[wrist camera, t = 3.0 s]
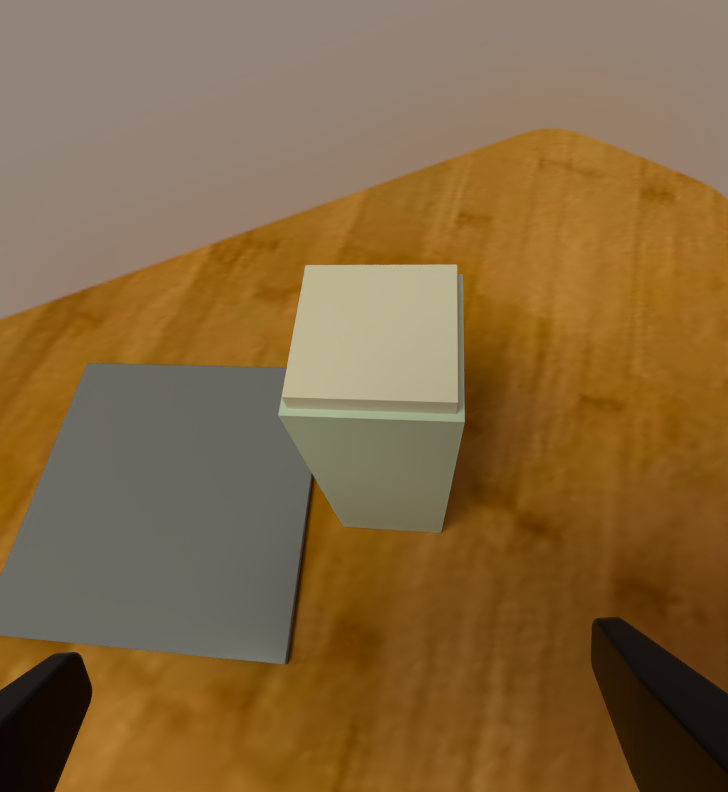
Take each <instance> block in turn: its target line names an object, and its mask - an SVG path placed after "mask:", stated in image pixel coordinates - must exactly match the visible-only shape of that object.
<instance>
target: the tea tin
mask: <svg viewBox="0 0 728 792" xmlns="http://www.w3.org/2000/svg"><path fill="white" fill-rule="evenodd" d="M278 416H279V418H280V419H281V421H282V423H283V425H284V426H285V428H286V430H287V431H288V433H289V435H290V437H291V438H292V440H293V442H294V443H295V445H296V447H297V449H298V450H299V452H300V454H301V455H302V457H303V459H304V461H305V462H306V464H307V466H308V467H309V469H310V471H311V473H312V474H313V476H314V478H315V479H316V481H317V483H318V484H319V486H320V488H321V490H322V491H323V493H324V495H325V496H326V498H327V500H328V502H329V503H330V505H331V507H332V508H333V510H334V512H335V514H336V515H337V517H338V519H339V520H340V522H341V524H342V526H343V527H354V528H370V529H385V530H401V531H417V532H432V533H441V531H442V527H443V522H444V517H445V513H446V508H447V503H448V499H449V494H450V489H451V484H452V480H453V475H454V470H455V466H456V461H457V456H458V452H459V447H460V442H461V437H462V433H463V428H464V423H465V404H464V334H463V275H457V265H306V266H305V272H304V277H303V282H302V288H301V293H300V299H299V304H298V310H297V315H296V321H295V326H294V331H293V337H292V342H291V348H290V353H289V359H288V364H287V370H286V375H285V381H284V386H283V391H282V398H281V403H280V408H279V414H278Z"/></svg>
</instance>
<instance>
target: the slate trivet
mask: <svg viewBox="0 0 728 792" xmlns="http://www.w3.org/2000/svg"><path fill="white" fill-rule="evenodd" d="M286 370H287V368H266V367H223V366H180V365H137V364H94V363H87V365H86V368H85V370H84V373H83V375H82V377H81V380H80V382H79V385H78V387H77V390H76V392H75V395H74V397H73V400H72V402H71V404H70V407H69V409H68V412H67V414H66V417H65V419H64V422H63V424H62V426H61V429H60V431H59V434H58V436H57V439H56V441H55V444H54V446H53V448H52V451H51V453H50V456H49V458H48V461H47V463H46V466H45V468H44V471H43V473H42V475H41V478H40V480H39V483H38V485H37V488H36V490H35V493H34V495H33V497H32V500H31V502H30V505H29V507H28V510H27V512H26V515H25V517H24V519H23V522H22V524H21V527H20V529H19V532H18V534H17V537H16V539H15V542H14V544H13V546H12V549H11V551H10V554H9V556H8V559H7V561H6V564H5V566H4V568H3V571H2V573H1V576H0V636H9V637H19V638H28V639H38V640H48V641H58V642H68V643H78V644H88V645H98V646H108V647H117V648H127V649H137V650H147V651H157V652H167V653H177V654H187V655H196V656H206V657H216V658H226V659H236V660H246V661H256V662H266V663H276V664H287V660H288V653H289V646H290V639H291V631H292V624H293V617H294V610H295V602H296V595H297V588H298V581H299V573H300V566H301V559H302V552H303V544H304V537H305V530H306V523H307V515H308V508H309V501H310V494H311V486H312V479H313V474H312V473H311V471H310V469H309V467H308V466H307V464H306V462H305V461H304V459H303V457H302V455H301V454H300V452H299V450H298V449H297V447H296V445H295V443H294V442H293V440H292V438H291V437H290V435H289V433H288V431H287V430H286V428H285V426H284V425H283V423H282V421H281V419H280V418H279V416H278V414H279V408H280V403H281V398H282V391H283V386H284V381H285V375H286Z"/></svg>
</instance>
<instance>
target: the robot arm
mask: <svg viewBox="0 0 728 792" xmlns="http://www.w3.org/2000/svg"><path fill="white" fill-rule="evenodd" d="M591 663H592V668H593V671H594V674H595V677H596V680H597V682H598V685H599V688H600V691H601V693H602V696H603V699H604V701H605V704H606V707H607V709H608V712H609V715H610V718H611V720H612V723H613V726H614V728H615V731H616V734H617V736H618V739H619V742H620V744H621V747H622V750H623V753H624V755H625V758H626V760H627V763H628V766H629V768H630V771H631V773H632V776H633V778H634V780H635V782H636V784H637V787H638V789H639V791H640V792H728V694H727V693H726V692H724V691H723V690H722V689H720V688H719V687H717V686H716V685H715V684H713V683H712V682H710V681H709V680H707V679H706V678H705V677H703V676H702V675H700V674H699V673H698V672H696V671H695V670H693V669H692V668H691V667H689V666H688V665H686V664H685V663H684V662H682V661H681V660H679V659H678V658H676V657H675V656H674V655H672V654H671V653H669V652H668V651H667V650H665V649H664V648H662V647H661V646H660V645H658V644H657V643H655V642H654V641H652V640H651V639H650V638H648V637H647V636H645V635H644V634H643V633H641V632H640V631H638V630H637V629H636V628H634V627H633V626H631V625H630V624H629V623H627V622H626V621H624V620H623V619H621V618H618V617H607V618H596V619H595V620H594V621H593V623H592V638H591ZM91 698H92V685H91V682H90V679H89V676H88V673H87V671H86V668H85V665H84V662H83V659H82V657H81V655H80V654H78V653H76V652H67V653H57V654H53V655H51V656H50V657H48V658H47V659H45V660H44V661H42V662H41V663H39V664H38V665H36V666H35V667H34V668H32V669H31V670H29V671H28V672H26V673H25V674H23V675H22V676H20V677H19V678H18V679H16V680H15V681H13V682H12V683H10V684H9V685H7V686H6V687H4V688H3V689H2V690H0V792H54V791H55V789H56V787H57V784H58V782H59V779H60V777H61V774H62V772H63V769H64V767H65V764H66V762H67V759H68V757H69V754H70V752H71V749H72V747H73V744H74V742H75V739H76V737H77V735H78V732H79V730H80V727H81V725H82V722H83V720H84V717H85V715H86V712H87V710H88V707H89V705H90V702H91Z"/></svg>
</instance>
